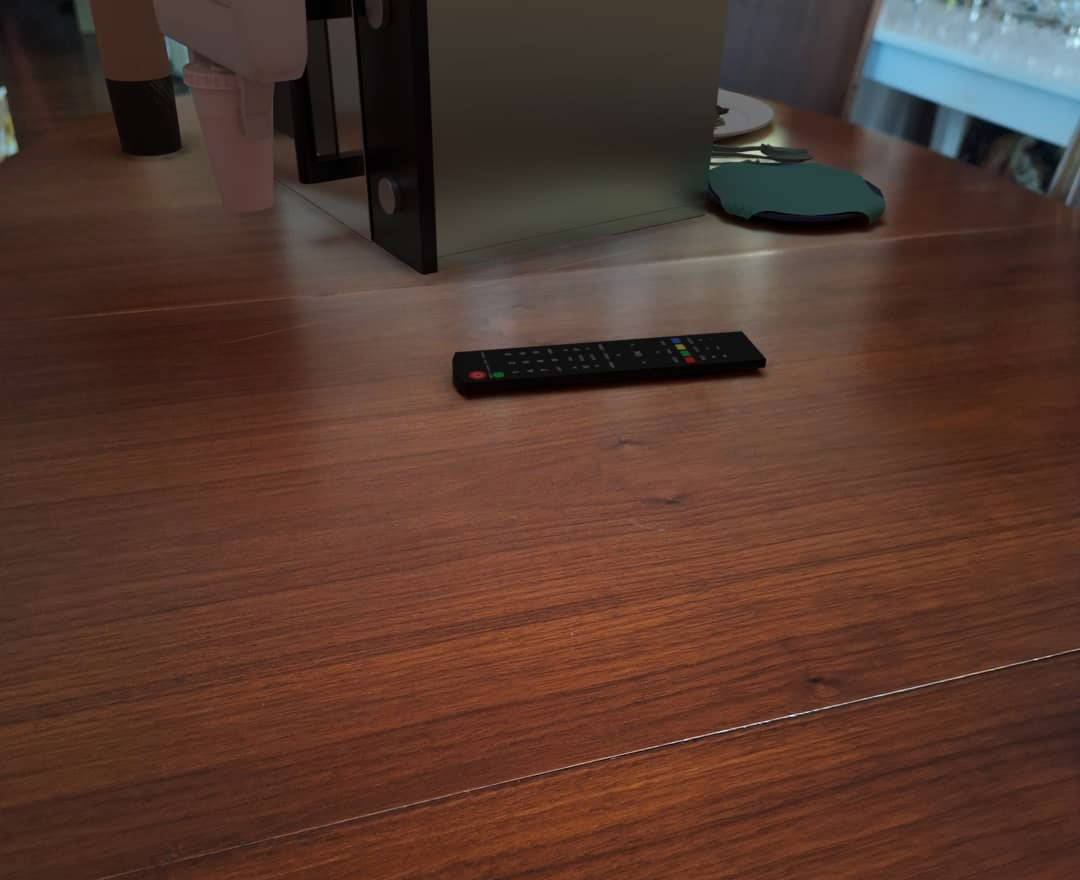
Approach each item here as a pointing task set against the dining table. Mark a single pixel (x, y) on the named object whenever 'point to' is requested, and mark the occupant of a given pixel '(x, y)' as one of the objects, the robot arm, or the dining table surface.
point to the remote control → (603, 361)
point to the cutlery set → (789, 187)
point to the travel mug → (137, 76)
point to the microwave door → (327, 120)
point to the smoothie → (230, 138)
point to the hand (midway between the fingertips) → (237, 125)
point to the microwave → (534, 121)
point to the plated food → (739, 115)
